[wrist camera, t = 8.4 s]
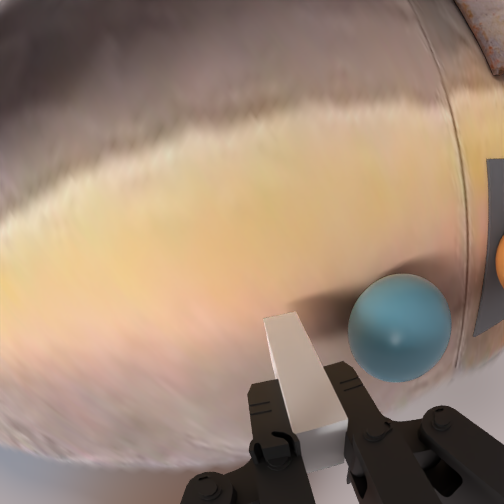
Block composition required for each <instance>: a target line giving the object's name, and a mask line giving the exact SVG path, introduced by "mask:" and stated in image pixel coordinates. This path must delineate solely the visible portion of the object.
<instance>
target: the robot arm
mask: <svg viewBox="0 0 504 504" xmlns="http://www.w3.org/2000/svg"><path fill="white" fill-rule="evenodd" d="M263 320H264V325H265V330H266V335H267V341H268V346H269V351H270V356H271V361H272V366H273V370H274V374H275V378H276V379H275V380H270V381H265V382H260V383H255V384H252V385H251V387H250V390H249V392H248V394H247V395H248V403H249V411H250V419H251V426H252V434H253V440H252V441H251V443H250V446H249V453H250V455H251V459H250V461H249V462H248V463H247V464H246V465H244V466H243V467H241V468H239V469H237V470H235V471H232V472H230V473H227V474H225V475H223V474H220V473H216V472H204V473H202V474H199V475H196V476H195V477H194V478H192V479H191V480H190V481H189V483H188V485H187V486H186V489H185V492H184V495H183V497H182V501H181V503H180V504H315V500H314V497H313V493H312V490H311V487H310V483H309V479H308V476H307V473H310V472H314V471H318V470H322V469H325V468H329V467H332V466H335V465H338V464H342V463H344V457H345V459H346V461H347V464H348V466H349V468H348V474H347V484H349V483H350V482H351V483H352V486H353V488H354V491H355V494H356V496H357V499H358V501H359V504H504V445H503V444H502V443H500V442H499V441H498V440H496V439H495V438H494V437H492V436H491V435H489V434H488V433H487V432H485V431H484V430H483V429H481V428H480V427H478V426H477V425H476V424H474V423H473V422H472V421H470V420H469V419H468V418H466V417H465V416H463V415H462V414H461V413H459V412H458V411H457V410H455V409H453V408H451V407H449V406H436V407H433V408H432V409H430V410H428V411H427V412H426V413H425V415H424V416H423V418H422V419H417V420H411V421H402V422H397V421H392V420H391V419H389V418H387V417H384V416H383V415H382V414H381V413H380V411H379V410H378V408H377V406H376V405H375V403H374V401H373V400H372V398H371V397H370V395H369V393H368V392H367V390H366V388H365V387H364V386H363V383H362V382H361V380H360V378H358V375H357V374H356V372H355V370H354V369H353V367H351V366H350V365H348V364H347V363H345V362H343V361H342V362H338V363H335V364H332V365H328V366H324V367H323V366H322V364H321V362H320V360H319V358H318V356H317V354H316V352H315V349H314V347H313V345H312V343H311V341H310V339H309V337H308V335H307V333H306V331H305V329H304V327H303V325H302V323H301V321H300V319H299V317H298V315H297V313H296V311H295V312H290V313H286V314H282V315H277V316H272V317H268V318H263Z"/></svg>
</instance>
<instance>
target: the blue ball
mask: <svg viewBox="0 0 504 504" xmlns="http://www.w3.org/2000/svg"><path fill="white" fill-rule="evenodd" d="M450 335H451V314H450V310H449V306H448V303H447V301H446V299H445V298H444V296H443V294H442V293H441V292H440V290H439V289H438V288H437V287H436V286H435V285H434V284H432V283H431V282H430V281H428V280H426V279H424V278H422V277H420V276H417V275H413V274H407V273H405V274H393V275H389V276H386V277H384V278H381V279H379V280H378V281H376V282H374V283H373V284H371V285H370V286H369V287H368V288H367V289H366V290H365V291H364V292H363V293H362V294H361V295H360V297H359V298H358V300H357V301H356V303H355V305H354V307H353V309H352V312H351V315H350V318H349V324H348V340H349V345H350V348H351V352H352V354H353V356H354V358H355V360H356V361H357V362H358V364H359V365H360V366H361V368H363V369H364V370H365V371H366V372H367V373H368V374H370V375H371V376H373V377H375V378H377V379H380V380H383V381H387V382H405V381H410V380H413V379H416V378H418V377H420V376H422V375H423V374H425V373H426V372H428V371H429V370H430V369H431V368H432V367H434V366H435V365H436V363H437V362H438V361H439V360H440V358H441V357H442V355H443V353H444V352H445V350H446V348H447V345H448V342H449V339H450Z"/></svg>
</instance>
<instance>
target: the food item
mask: <svg viewBox="0 0 504 504" xmlns="http://www.w3.org/2000/svg"><path fill="white" fill-rule="evenodd" d="M454 1H455V3H456V5H457V6H458V7H459V9H460V10H461V12H462V14H463V16H464V18H465V20H466V22H467V23H468V25H469V27H470V28H471V30H472V32H473V33H474V35H475V37H476V39H477V41H478V43H479V45H480V47H481V49H482V51H483V53H484V55H485V57H486V59H487V61H488V64H489V66H490V68H491V71H492V73H493V75H499V76H500V75H502V74H504V0H454Z"/></svg>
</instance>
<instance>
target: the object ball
mask: <svg viewBox="0 0 504 504" xmlns="http://www.w3.org/2000/svg"><path fill="white" fill-rule="evenodd" d="M495 263H496V272H497V276H498V279H499V281H500V283H501V285H502V287H503V288H504V235H503V237H502V238H501V240H500V242H499V245H498V248H497V252H496V260H495Z"/></svg>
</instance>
